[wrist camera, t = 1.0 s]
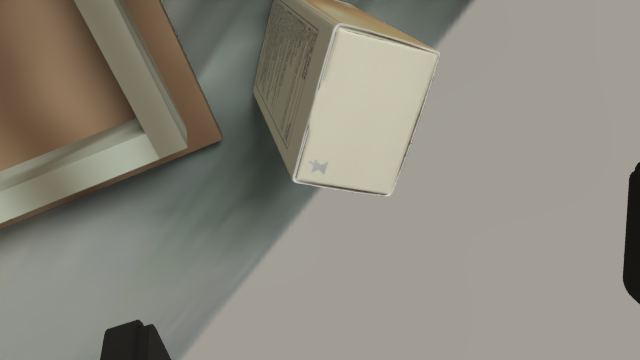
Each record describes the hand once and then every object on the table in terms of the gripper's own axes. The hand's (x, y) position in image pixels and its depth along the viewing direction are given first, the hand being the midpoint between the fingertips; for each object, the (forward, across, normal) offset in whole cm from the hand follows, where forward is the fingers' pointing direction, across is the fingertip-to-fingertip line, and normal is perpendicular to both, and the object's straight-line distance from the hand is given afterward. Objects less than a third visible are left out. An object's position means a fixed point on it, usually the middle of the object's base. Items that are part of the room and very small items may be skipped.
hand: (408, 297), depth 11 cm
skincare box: (+23, -2, +1) cm, 23 cm away
